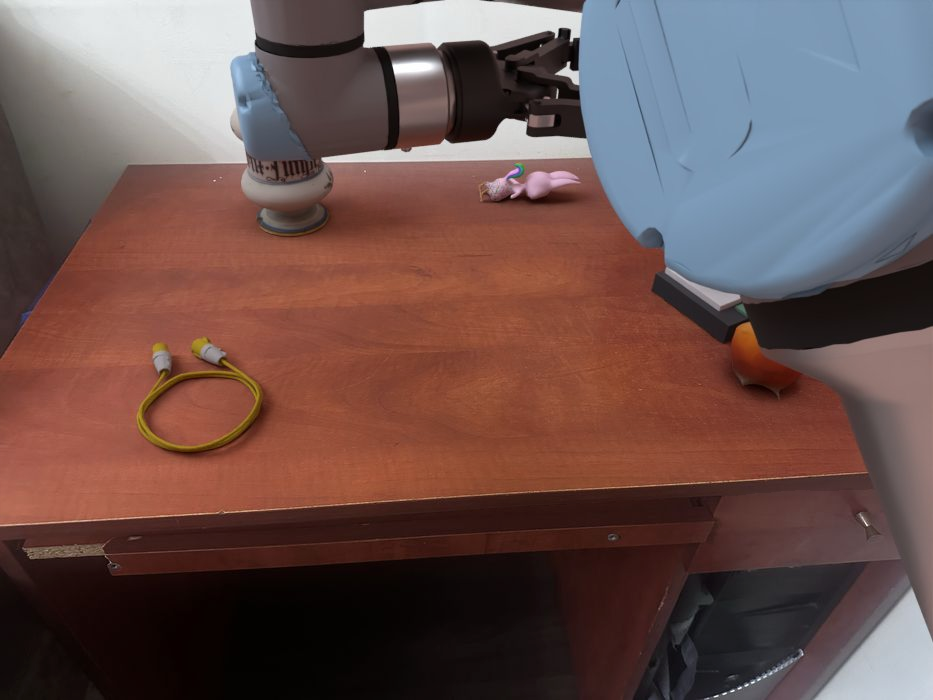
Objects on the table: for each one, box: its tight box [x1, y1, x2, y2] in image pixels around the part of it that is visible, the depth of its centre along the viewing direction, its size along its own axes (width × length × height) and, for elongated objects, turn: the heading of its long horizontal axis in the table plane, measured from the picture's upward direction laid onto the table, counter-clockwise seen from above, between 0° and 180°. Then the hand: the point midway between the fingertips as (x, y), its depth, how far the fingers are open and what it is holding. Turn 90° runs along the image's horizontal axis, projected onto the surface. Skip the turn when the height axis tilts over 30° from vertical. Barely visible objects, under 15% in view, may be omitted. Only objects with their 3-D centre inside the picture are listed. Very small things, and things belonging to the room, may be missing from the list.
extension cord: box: [136, 336, 264, 453], centre depth 70 cm, size 12×16×2 cm
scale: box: [651, 266, 750, 344], centre depth 86 cm, size 12×12×3 cm
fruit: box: [730, 322, 803, 401], centre depth 75 cm, size 8×8×8 cm
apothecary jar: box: [229, 107, 334, 237], centre depth 93 cm, size 12×12×18 cm
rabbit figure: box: [477, 162, 582, 202], centre depth 104 cm, size 6×6×15 cm
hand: (675, 74), depth 61 cm, fingers open, 13 cm apart
